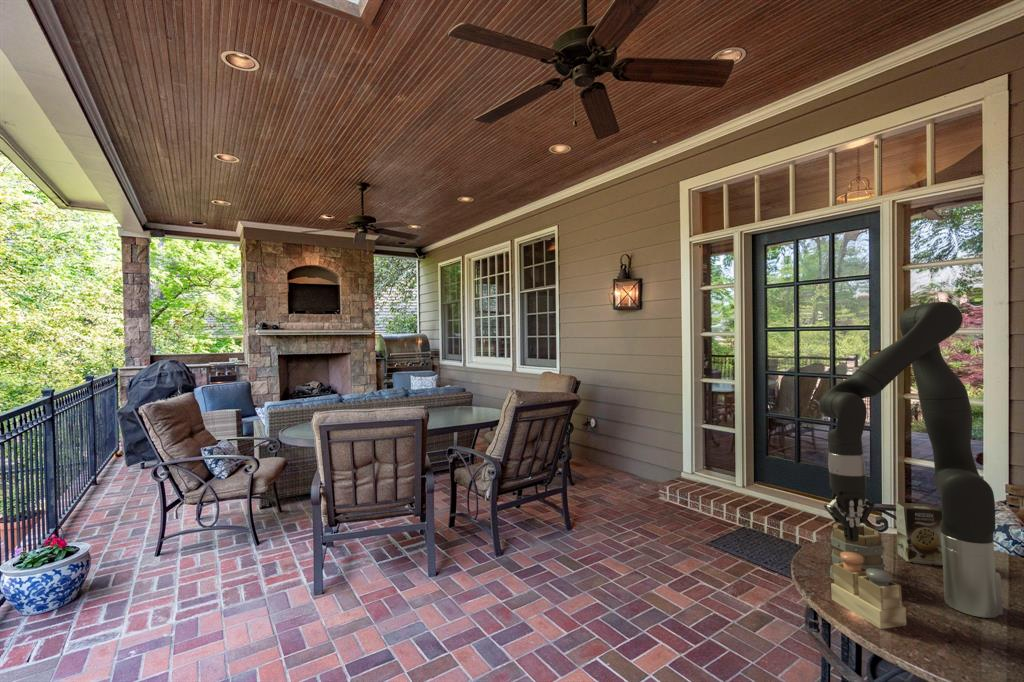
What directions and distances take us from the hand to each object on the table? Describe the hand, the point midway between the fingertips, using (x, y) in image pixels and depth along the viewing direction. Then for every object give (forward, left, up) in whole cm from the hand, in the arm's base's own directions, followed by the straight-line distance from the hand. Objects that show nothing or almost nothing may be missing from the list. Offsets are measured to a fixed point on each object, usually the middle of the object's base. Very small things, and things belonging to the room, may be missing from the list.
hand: (851, 540), depth 115 cm
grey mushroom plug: (-2, +6, -12) cm, 13 cm away
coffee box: (-34, -27, -16) cm, 47 cm away
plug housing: (-1, +3, -16) cm, 16 cm away
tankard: (-10, -16, -16) cm, 25 cm away
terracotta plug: (0, 0, -11) cm, 11 cm away
